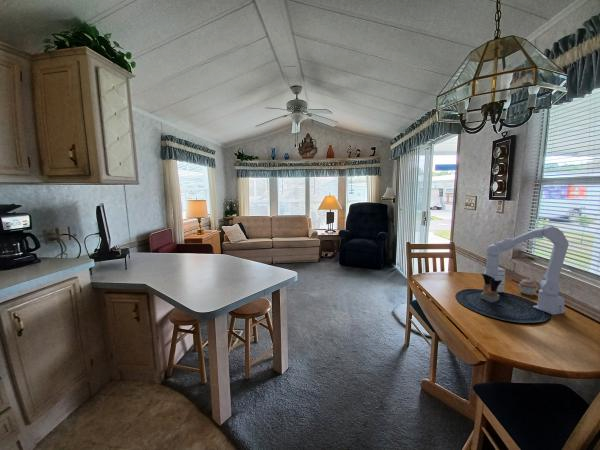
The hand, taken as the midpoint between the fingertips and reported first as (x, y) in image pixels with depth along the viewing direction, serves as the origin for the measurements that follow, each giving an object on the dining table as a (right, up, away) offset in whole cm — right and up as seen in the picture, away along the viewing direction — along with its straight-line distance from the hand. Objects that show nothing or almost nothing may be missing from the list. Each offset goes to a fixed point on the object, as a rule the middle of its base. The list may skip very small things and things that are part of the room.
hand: (490, 288), depth 147 cm
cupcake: (+28, -5, +8) cm, 30 cm away
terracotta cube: (0, -3, +1) cm, 3 cm away
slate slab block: (0, -7, +1) cm, 7 cm away
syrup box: (+13, -5, +13) cm, 19 cm away
